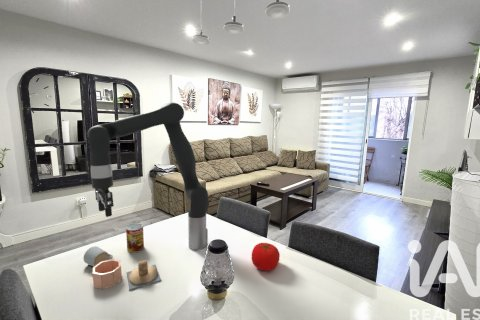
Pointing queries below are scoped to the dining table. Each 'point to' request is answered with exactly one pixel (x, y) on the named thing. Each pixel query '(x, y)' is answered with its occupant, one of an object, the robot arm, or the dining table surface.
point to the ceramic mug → (96, 256)
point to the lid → (143, 273)
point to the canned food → (135, 237)
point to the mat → (133, 286)
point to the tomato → (265, 256)
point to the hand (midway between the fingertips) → (105, 213)
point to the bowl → (107, 273)
